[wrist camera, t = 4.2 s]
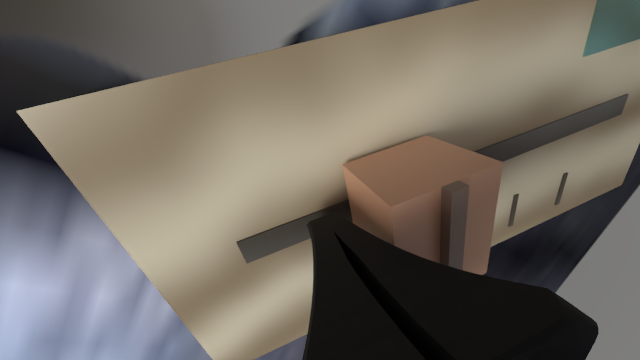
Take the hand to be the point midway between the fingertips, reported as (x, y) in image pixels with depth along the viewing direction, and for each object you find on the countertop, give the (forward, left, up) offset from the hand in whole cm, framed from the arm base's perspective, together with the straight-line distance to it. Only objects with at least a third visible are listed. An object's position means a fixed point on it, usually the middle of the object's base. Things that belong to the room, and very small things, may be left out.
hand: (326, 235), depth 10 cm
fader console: (0, -8, -4) cm, 9 cm away
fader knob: (0, -4, -1) cm, 3 cm away
